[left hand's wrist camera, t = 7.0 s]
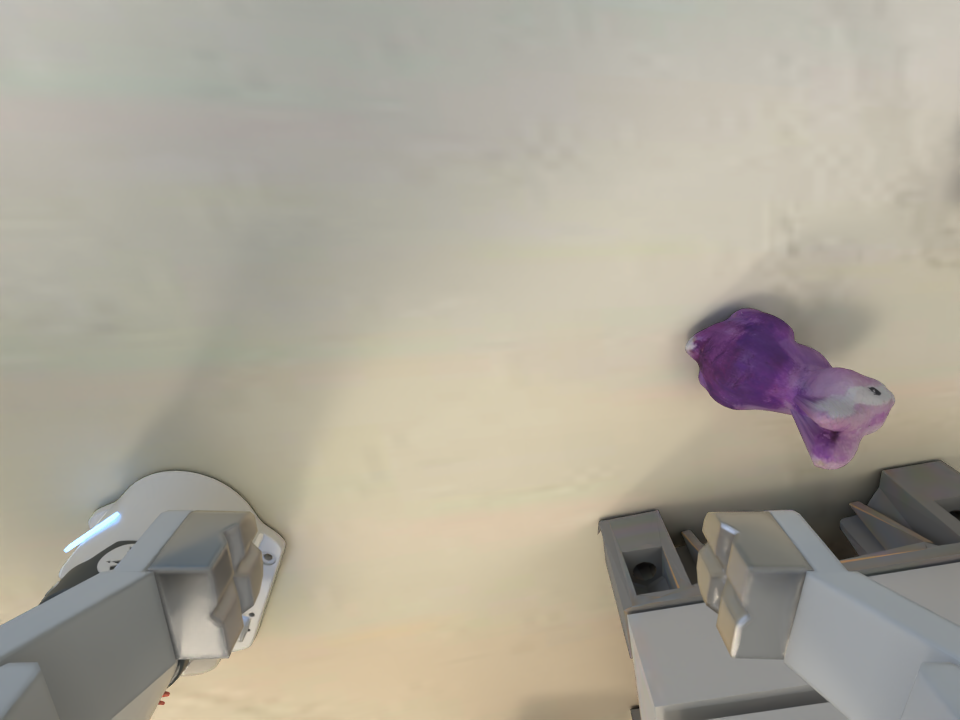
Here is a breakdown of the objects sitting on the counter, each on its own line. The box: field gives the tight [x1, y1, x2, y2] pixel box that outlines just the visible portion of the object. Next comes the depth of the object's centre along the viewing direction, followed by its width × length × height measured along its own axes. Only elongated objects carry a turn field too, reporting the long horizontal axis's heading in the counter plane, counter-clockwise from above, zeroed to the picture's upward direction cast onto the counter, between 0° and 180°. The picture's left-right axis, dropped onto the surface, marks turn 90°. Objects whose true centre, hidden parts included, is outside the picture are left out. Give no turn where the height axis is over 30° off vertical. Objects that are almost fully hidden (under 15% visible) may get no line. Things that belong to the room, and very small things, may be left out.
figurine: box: [685, 308, 895, 469], centre depth 44 cm, size 9×10×15 cm
